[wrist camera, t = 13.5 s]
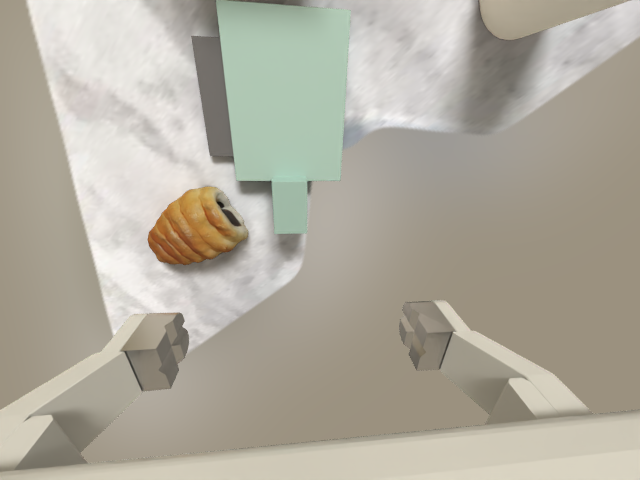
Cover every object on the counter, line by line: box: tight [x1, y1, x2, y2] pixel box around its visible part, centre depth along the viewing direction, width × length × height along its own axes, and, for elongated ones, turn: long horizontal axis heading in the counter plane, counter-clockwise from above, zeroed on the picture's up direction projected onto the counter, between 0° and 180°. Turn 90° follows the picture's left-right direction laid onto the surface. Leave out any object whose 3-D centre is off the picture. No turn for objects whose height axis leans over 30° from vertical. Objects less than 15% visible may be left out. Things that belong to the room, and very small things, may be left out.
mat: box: [191, 36, 234, 156], centre depth 22 cm, size 10×9×1 cm
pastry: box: [148, 187, 248, 265], centre depth 25 cm, size 9×7×4 cm
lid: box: [216, 0, 351, 234], centre depth 21 cm, size 10×17×3 cm, turn 179°
